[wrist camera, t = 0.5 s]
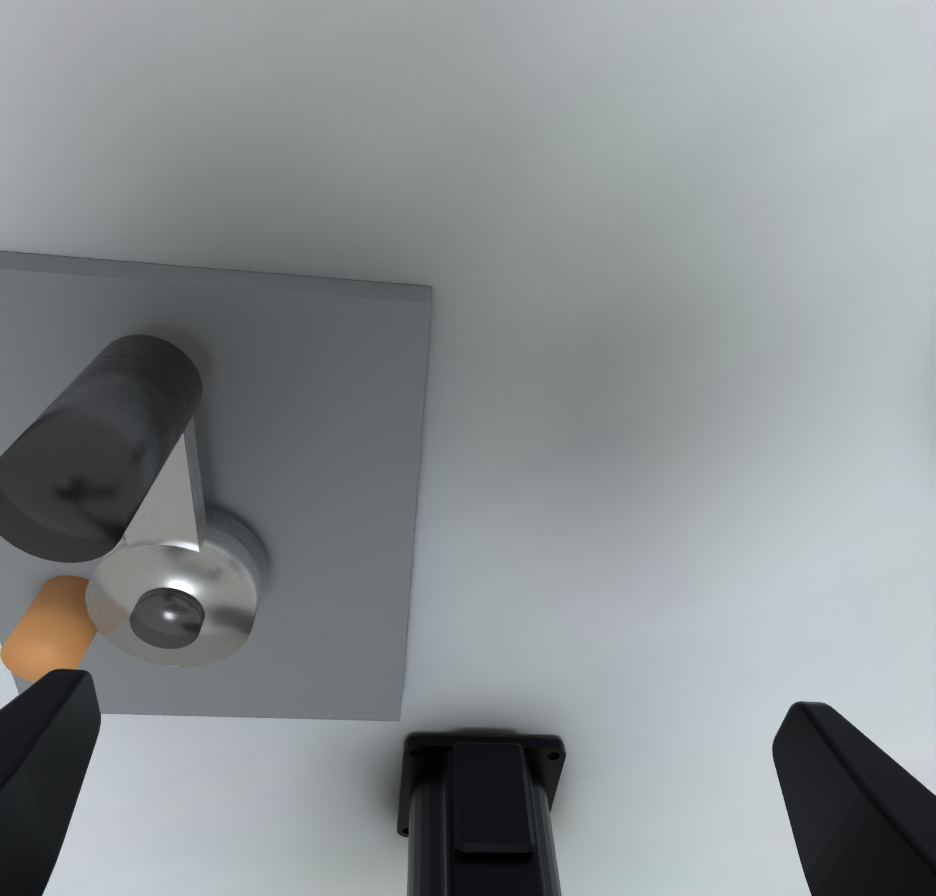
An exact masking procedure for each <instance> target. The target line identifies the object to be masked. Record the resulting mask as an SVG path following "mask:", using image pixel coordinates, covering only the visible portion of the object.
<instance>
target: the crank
mask: <svg viewBox="0 0 936 896" xmlns="http://www.w3.org/2000/svg"><path fill="white" fill-rule="evenodd" d="M202 392H203V388H202V380H201V377H200V374H199V372H198V370H197V368H196V366H195V365H194V363H193V362H192V360H191V359H190V358H189V357H188V356H187V355H186V354H185V353H184V352H183V351H182V350H180V349H179V348H178V347H176V346H175V345H173V344H172V343H170V342H168V341H166V340H163V339H161V338H158V337H154V336H150V335H141V334H135V335H127V336H123V337H120V338H118V339H116V340H114V341H112V342H111V343H109V344H108V345H107V346H106V347H105V348H104V349H103V350H102V351H101V352H100V353H99V354H98V355H97V356H96V357H95V358H94V359H93V360H92V361H91V363H90V364H89V365H88V366H87V367H86V368H85V369H84V370H83V371H82V372H81V373H80V374H79V375H78V376H77V377H76V378H75V379H74V380H73V381H72V382H71V383H70V384H69V385H68V386H67V387H66V389H65V390H64V391H63V392H62V393H61V394H60V395H59V396H58V397H57V398H56V399H55V400H54V401H53V402H52V403H51V404H50V405H49V406H48V407H47V408H46V409H45V410H44V411H43V412H42V413H41V415H40V416H39V417H38V418H37V419H36V420H35V421H34V422H33V423H32V424H31V425H30V426H29V427H28V428H27V429H26V430H25V431H24V432H23V433H22V434H21V435H20V436H19V437H18V438H17V439H16V441H15V442H14V443H13V444H12V445H11V446H10V447H9V448H8V449H7V450H6V451H5V452H4V453H3V454H2V455H1V456H0V536H1V537H2V538H3V539H5V540H6V541H7V542H9V543H10V544H12V545H13V546H15V547H16V548H18V549H20V550H22V551H24V552H26V553H28V554H30V555H33V556H35V557H38V558H41V559H45V560H49V561H54V562H62V563H79V562H86V561H91V560H94V559H97V558H100V557H102V556H104V557H103V559H102V560H101V562H100V564H99V565H98V567H97V569H96V570H95V572H94V574H93V575H92V577H91V579H90V581H89V583H88V585H87V589H86V593H85V602H86V608H87V611H88V614H89V617H90V619H91V620H92V622H93V624H94V625H95V627H96V628H97V629H98V631H99V632H100V633H101V634H102V635H103V636H104V637H105V638H106V639H107V640H108V641H110V642H111V643H112V644H113V645H115V646H116V647H118V648H119V649H121V650H123V651H124V652H126V653H128V654H130V655H132V656H135V657H137V658H139V659H142V660H145V661H148V662H152V663H156V664H160V665H166V666H176V667H193V666H201V665H206V664H211V663H214V662H217V661H220V660H222V659H224V658H227V657H228V656H230V655H232V654H233V653H235V652H236V651H237V650H238V649H240V648H241V647H242V645H243V644H244V643H245V642H246V640H247V639H248V637H249V635H250V633H251V631H252V628H253V624H254V621H255V617H256V614H257V610H258V607H259V603H260V600H261V596H262V593H263V589H264V586H265V582H266V579H267V574H268V564H267V558H266V555H265V552H264V550H263V548H262V546H261V544H260V543H259V541H258V540H257V538H256V537H255V536H254V535H253V534H252V533H251V532H250V530H248V529H247V528H246V527H245V526H244V525H243V524H241V523H240V522H238V521H237V520H235V519H234V518H232V517H230V516H228V515H227V514H225V513H222V512H220V511H218V510H215V509H212V508H209V507H205V506H204V499H203V491H202V483H201V475H200V467H199V459H198V450H197V442H196V434H195V426H194V418H193V415H194V413H195V411H196V410H197V408H198V406H199V404H200V402H201V398H202Z"/></svg>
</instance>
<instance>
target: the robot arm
mask: <svg viewBox="0 0 936 896" xmlns="http://www.w3.org/2000/svg"><path fill="white" fill-rule="evenodd" d="M100 724H101V713H100V708H99V704H98V699H97V695H96V690H95V686H94V681H93V678H92V675H91V674H90V673H89V672H88V671H86V670H79V669H55V670H52V671H50V672H48V673H46V674H45V675H44V676H42V677H41V678H40V679H39V680H37V681H36V682H35V683H34V684H32V685H31V686H30V687H28V688H27V689H26V690H25V691H23V692H22V693H21V694H19V695H18V696H17V697H16V698H14V699H13V700H12V701H11V702H9V703H8V704H7V705H5V706H4V707H3V708H2V709H0V896H42V895H43V893H44V890H45V888H46V886H47V883H48V881H49V879H50V876H51V874H52V871H53V869H54V867H55V864H56V862H57V859H58V856H59V853H60V850H61V847H62V845H63V842H64V839H65V836H66V833H67V829H68V826H69V823H70V820H71V817H72V814H73V811H74V808H75V805H76V802H77V799H78V796H79V793H80V790H81V786H82V783H83V780H84V777H85V774H86V771H87V768H88V765H89V762H90V759H91V756H92V753H93V750H94V747H95V744H96V740H97V737H98V734H99V730H100ZM772 752H773V759H774V763H775V767H776V771H777V775H778V779H779V782H780V786H781V790H782V794H783V797H784V801H785V805H786V809H787V812H788V816H789V820H790V824H791V828H792V831H793V835H794V839H795V843H796V846H797V850H798V854H799V858H800V861H801V864H802V868H803V871H804V875H805V878H806V881H807V883H808V886H809V889H810V892H811V895H812V896H936V796H935V795H934V794H933V793H932V792H931V791H930V790H928V789H927V788H926V787H925V786H924V785H923V784H921V783H920V782H919V781H918V780H917V779H916V778H914V777H913V776H912V775H911V774H910V773H909V772H907V771H906V770H905V769H904V768H903V767H901V766H900V765H899V764H898V763H897V762H896V761H894V760H893V759H892V758H891V757H890V756H889V755H887V754H886V753H885V752H884V751H883V750H882V749H880V748H879V747H878V746H877V745H876V744H875V743H873V742H872V741H871V740H870V739H869V738H867V737H866V736H865V735H864V734H863V733H862V732H860V731H859V730H858V729H857V728H856V727H855V726H853V725H852V724H851V723H850V722H849V721H848V720H846V719H845V718H844V717H843V716H842V715H841V714H839V713H838V712H837V711H836V710H835V709H833V708H832V707H831V706H829V705H827V704H825V703H821V702H803V701H799V702H796V703H794V704H793V705H792V706H791V707H790V709H789V710H788V712H787V714H786V716H785V718H784V720H783V722H782V724H781V726H780V728H779V730H778V732H777V734H776V736H775V738H774V741H773V747H772ZM565 757H566V752H565V747H564V744H563V742H561V741H559V740H554V739H512V738H470V737H427V736H415V737H410V738H408V739H407V740H406V741H405V742H404V749H403V761H402V773H401V785H400V797H399V809H398V821H397V832H398V834H399V835H401V836H403V837H409V843H408V880H407V896H562V894H561V888H560V881H559V874H558V867H557V860H556V854H555V847H554V840H553V833H552V826H551V820H550V810H551V807H552V803H553V800H554V796H555V793H556V789H557V786H558V782H559V779H560V775H561V772H562V768H563V764H564V761H565Z"/></svg>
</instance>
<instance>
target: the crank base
mask: <svg viewBox="0 0 936 896" xmlns="http://www.w3.org/2000/svg"><path fill="white" fill-rule="evenodd" d="M431 306H432V287H429V286H417V285H405V284H393V283H380V282H368V281H356V280H344V279H332V278H319V277H307V276H295V275H283V274H271V273H258V272H246V271H234V270H222V269H209V268H197V267H185V266H173V265H161V264H148V263H136V262H124V261H112V260H100V259H87V258H75V257H63V256H51V255H39V254H26V253H14V252H2V251H0V456H1V455H2V454H3V453H4V452H5V451H6V450H7V449H8V448H9V447H10V446H11V445H12V444H13V443H14V442H15V441H16V439H17V438H18V437H19V436H20V435H21V434H22V433H23V432H24V431H25V430H26V429H27V428H28V427H29V426H30V425H31V424H32V423H33V422H34V421H35V420H36V419H37V418H38V417H39V416H40V415H41V413H42V412H43V411H44V410H45V409H46V408H47V407H48V406H49V405H50V404H51V403H52V402H53V401H54V400H55V399H56V398H57V397H58V396H59V395H60V394H61V393H62V392H63V391H64V390H65V389H66V387H67V386H68V385H69V384H70V383H71V382H72V381H73V380H74V379H75V378H76V377H77V376H78V375H79V374H80V373H81V372H82V371H83V370H84V369H85V368H86V367H87V366H88V365H89V364H90V363H91V361H92V360H93V359H94V358H95V357H96V356H97V355H98V354H99V353H100V352H101V351H102V350H103V349H104V348H105V347H106V346H107V345H108V344H109V343H111V342H112V341H114V340H116V339H118V338H120V337H123V336H127V335H135V334H141V335H150V336H154V337H158V338H161V339H163V340H166V341H168V342H170V343H172V344H173V345H175V346H176V347H178V348H179V349H180V350H182V351H183V352H184V353H185V354H186V355H187V356H188V357H189V358H190V359H191V360H192V362H193V363H194V365H195V366H196V368H197V370H198V372H199V374H200V377H201V380H202V388H203V392H202V398H201V402H200V404H199V406H198V408H197V410H196V411H195V413H194V415H193V418H194V426H195V434H196V442H197V450H198V459H199V467H200V475H201V483H202V491H203V499H204V506H205V507H209V508H212V509H215V510H218V511H220V512H222V513H225V514H227V515H228V516H230V517H232V518H234V519H235V520H237V521H238V522H240V523H241V524H243V525H244V526H245V527H246V528H247V529H248V530H250V532H251V533H252V534H253V535H254V536H255V537H256V538H257V540H258V541H259V543H260V544H261V546H262V548H263V550H264V552H265V555H266V558H267V564H268V574H267V579H266V582H265V586H264V589H263V593H262V596H261V600H260V603H259V607H258V610H257V614H256V617H255V621H254V624H253V628H252V631H251V633H250V635H249V637H248V639H247V640H246V642H245V643H244V644H243V645H242V647H241V648H240V649H238V650H237V651H236V652H235V653H233V654H232V655H230V656H228V657H227V658H224V659H222V660H220V661H217V662H214V663H211V664H206V665H201V666H193V667H176V666H166V665H160V664H156V663H152V662H148V661H145V660H142V659H139V658H137V657H135V656H132V655H130V654H128V653H126V652H124V651H123V650H121V649H119V648H118V647H116V646H115V645H113V644H112V643H111V642H110V641H108V640H107V639H106V638H105V637H104V636H103V635H102V634H101V633H100V632H99V631H98V629H97V628H96V627H95V625H94V624H93V622H92V620H91V619H90V617H89V614H88V611H87V608H86V602H85V593H86V589H87V585H88V583H89V581H90V579H91V577H92V575H93V574H94V572H95V570H96V569H97V567H98V565H99V564H100V562H101V560H102V559H103V557H104V556H102V557H100V558H97V559H94V560H91V561H86V562H79V563H62V562H54V561H49V560H45V559H41V558H38V557H35V556H33V555H30V554H28V553H26V552H24V551H22V550H20V549H18V548H16V547H15V546H13V545H12V544H10V543H9V542H7V541H6V540H5V539H3V538H2V537H1V536H0V642H1V645H2V649H1V659H2V661H3V663H4V665H5V666H6V667H7V668H8V669H9V670H10V671H11V673H12V675H13V678H14V681H15V684H16V686H17V689H18V692H19V694H21V693H22V692H23V691H25V690H26V689H27V688H28V687H30V686H31V685H32V684H34V683H35V682H36V681H37V680H39V679H40V678H41V677H42V676H44V675H45V674H46V673H48V672H50V671H52V670H55V669H79V670H86V671H88V672H89V673H90V674H91V675H92V678H93V681H94V686H95V690H96V695H97V699H98V704H99V708H100V713H101V714H138V715H177V716H216V717H255V718H294V719H334V720H373V721H400V715H401V701H402V688H403V675H404V662H405V649H406V636H407V622H408V609H409V596H410V583H411V570H412V557H413V543H414V530H415V517H416V504H417V491H418V478H419V464H420V451H421V438H422V425H423V412H424V398H425V385H426V372H427V359H428V346H429V333H430V319H431Z"/></svg>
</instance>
